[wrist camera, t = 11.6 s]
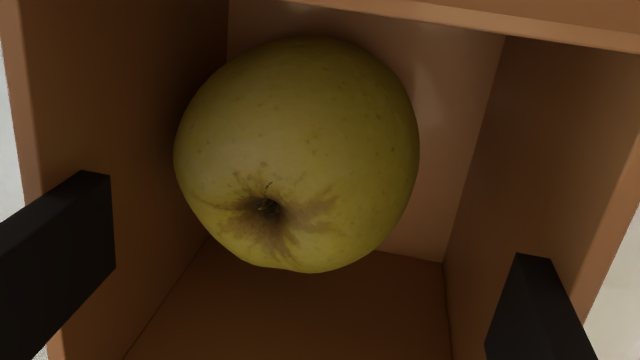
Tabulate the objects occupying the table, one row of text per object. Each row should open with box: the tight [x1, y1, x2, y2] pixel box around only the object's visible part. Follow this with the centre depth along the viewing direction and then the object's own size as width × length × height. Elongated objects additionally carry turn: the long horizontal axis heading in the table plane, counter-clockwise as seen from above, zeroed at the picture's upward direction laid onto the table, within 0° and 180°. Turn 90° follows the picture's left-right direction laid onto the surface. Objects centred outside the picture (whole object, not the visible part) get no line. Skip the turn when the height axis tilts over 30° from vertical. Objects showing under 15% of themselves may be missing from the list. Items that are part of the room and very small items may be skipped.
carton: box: [0, 0, 640, 360], centre depth 14 cm, size 14×12×19 cm
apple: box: [173, 36, 420, 274], centre depth 17 cm, size 8×8×10 cm
